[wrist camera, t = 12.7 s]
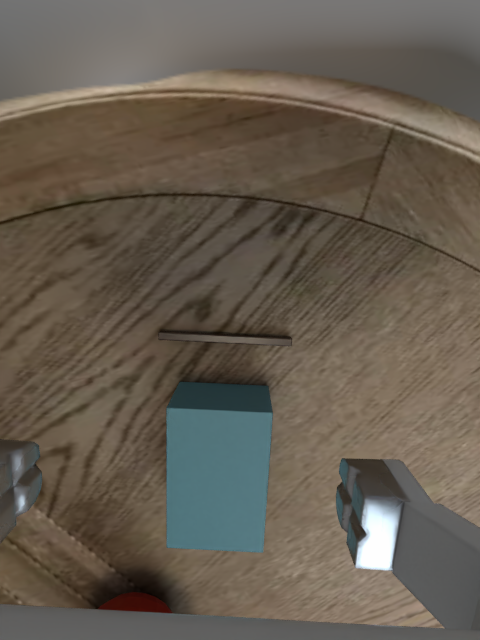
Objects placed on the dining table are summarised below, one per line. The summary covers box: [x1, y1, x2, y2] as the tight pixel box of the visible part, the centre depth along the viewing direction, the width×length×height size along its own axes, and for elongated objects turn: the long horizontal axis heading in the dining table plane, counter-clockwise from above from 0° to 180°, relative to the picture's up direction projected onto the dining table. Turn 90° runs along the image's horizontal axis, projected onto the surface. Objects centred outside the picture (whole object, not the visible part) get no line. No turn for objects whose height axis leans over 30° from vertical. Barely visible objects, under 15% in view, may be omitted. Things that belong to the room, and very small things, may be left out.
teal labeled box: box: [166, 382, 273, 552], centre depth 25 cm, size 11×7×4 cm, turn 177°
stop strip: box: [159, 331, 292, 346], centre depth 25 cm, size 1×10×1 cm, turn 87°
